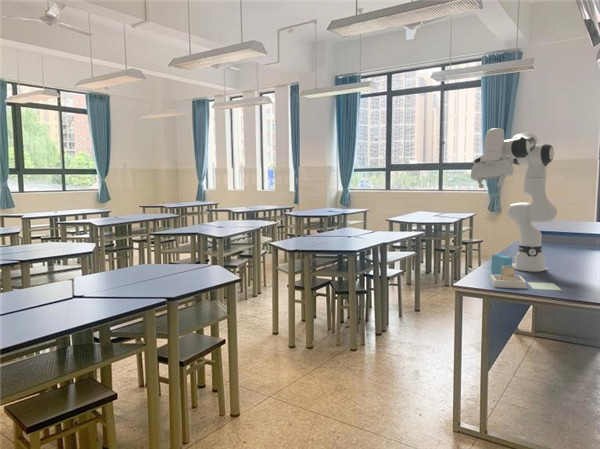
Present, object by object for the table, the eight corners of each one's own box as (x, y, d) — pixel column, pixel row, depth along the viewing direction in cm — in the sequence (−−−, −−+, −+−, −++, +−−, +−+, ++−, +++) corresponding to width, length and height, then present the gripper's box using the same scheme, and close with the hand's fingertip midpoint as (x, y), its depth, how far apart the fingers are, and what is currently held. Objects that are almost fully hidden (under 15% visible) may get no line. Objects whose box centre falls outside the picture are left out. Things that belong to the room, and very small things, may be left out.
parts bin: (490, 282, 223) (490, 274, 223) (520, 283, 219) (520, 275, 219) (494, 288, 210) (494, 280, 209) (526, 290, 206) (526, 281, 205)
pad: (526, 283, 218) (526, 282, 218) (553, 284, 215) (553, 283, 215) (533, 290, 205) (533, 288, 205) (561, 291, 201) (561, 290, 201)
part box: (501, 282, 217) (501, 265, 216) (512, 283, 216) (512, 265, 215) (502, 285, 213) (503, 267, 212) (514, 285, 211) (514, 267, 210)
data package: (511, 280, 227) (512, 257, 226) (503, 280, 226) (504, 257, 225) (499, 275, 239) (499, 253, 237) (491, 275, 238) (491, 254, 237)
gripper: (517, 158, 204) (514, 185, 201) (477, 165, 221) (474, 190, 218) (509, 153, 200) (507, 181, 198) (470, 161, 217) (467, 187, 215)
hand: (490, 186), depth 208 cm, fingers open, 8 cm apart
